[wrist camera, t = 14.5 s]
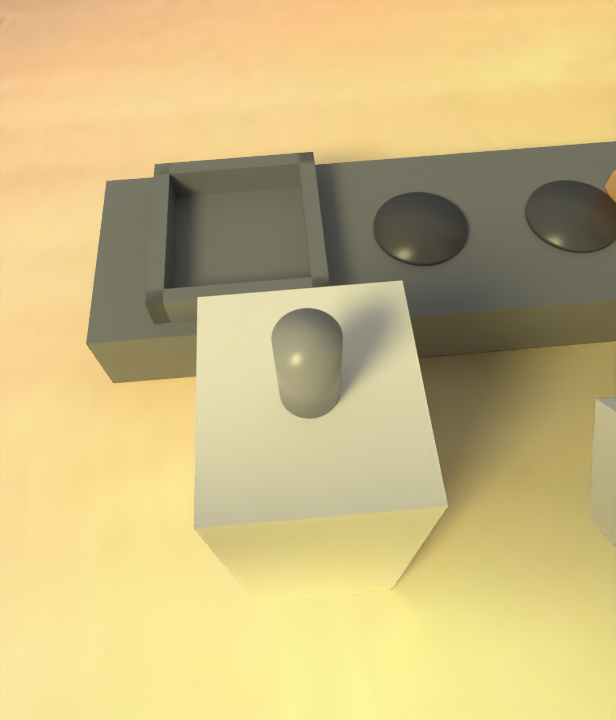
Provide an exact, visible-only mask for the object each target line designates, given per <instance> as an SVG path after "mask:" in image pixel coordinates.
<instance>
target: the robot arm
mask: <svg viewBox="0 0 616 720" xmlns="http://www.w3.org/2000/svg"><path fill="white" fill-rule="evenodd" d="M589 519H590V520H591V521H592V522H593V523H594V524H595V525H596V527H597V528H598V529H599V530H600V531H601V532H602V533H603V534H604V535H605V536H606V537H607V538H608V539H609V540H610V541H611V542H612V543H613V545H614V546H615V547H616V397H613V398H601V399H596V407H595V423H594V439H593V455H592V470H591V486H590V502H589Z"/></svg>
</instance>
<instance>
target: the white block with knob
mask: <svg viewBox="0 0 616 720" xmlns="http://www.w3.org/2000/svg"><path fill="white" fill-rule="evenodd" d="M447 507H448V503H447V498H446V493H445V488H444V483H443V479H442V474H441V469H440V464H439V459H438V454H437V449H436V444H435V439H434V434H433V429H432V424H431V419H430V414H429V409H428V404H427V400H426V395H425V390H424V385H423V380H422V375H421V370H420V365H419V360H418V355H417V350H416V345H415V340H414V335H413V330H412V325H411V321H410V316H409V311H408V306H407V301H406V296H405V291H404V286H403V281H390V282H378V283H366V284H353V285H341V286H329V287H317V288H305V289H292V290H280V291H268V292H256V293H243V294H231V295H219V296H207V297H197V362H196V429H195V496H194V529H195V530H196V532H197V533H198V534H199V535H200V537H201V538H202V539H203V540H204V541H205V543H206V544H207V545H208V546H209V548H210V549H211V550H212V551H213V552H214V554H215V555H216V556H217V557H218V559H219V560H220V561H221V562H222V563H223V565H224V566H225V567H226V568H227V570H228V571H229V572H230V573H231V574H232V576H233V577H234V578H235V579H236V581H237V582H238V583H239V584H240V585H241V587H242V588H243V589H244V590H245V592H246V593H247V594H248V595H249V596H250V598H251V599H252V600H253V601H254V602H263V601H274V600H285V599H296V598H307V597H318V596H329V595H340V594H351V593H362V592H372V591H383V590H392V589H393V587H394V586H395V584H396V583H397V581H398V580H399V578H400V577H401V575H402V574H403V572H404V571H405V569H406V568H407V566H408V565H409V563H410V562H411V560H412V559H413V557H414V556H415V554H416V553H417V551H418V550H419V548H420V547H421V546H422V544H423V543H424V541H425V540H426V538H427V537H428V535H429V534H430V532H431V531H432V529H433V528H434V526H435V525H436V523H437V522H438V520H439V519H440V517H441V516H442V514H443V513H444V511H445V510H446V508H447Z"/></svg>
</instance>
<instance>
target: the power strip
mask: <svg viewBox="0 0 616 720" xmlns="http://www.w3.org/2000/svg"><path fill="white" fill-rule="evenodd" d="M390 281H403V286H404V291H405V296H406V301H407V306H408V311H409V316H410V321H411V325H412V330H413V335H414V340H415V345H416V350H417V355H418V357H430V356H441V355H453V354H465V353H477V352H489V351H501V350H513V349H524V348H536V347H548V346H560V345H572V344H584V343H596V342H608V341H616V141H615V142H602V143H589V144H577V145H564V146H551V147H538V148H525V149H512V150H499V151H487V152H474V153H461V154H448V155H435V156H422V157H410V158H397V159H384V160H371V161H358V162H345V163H333V164H320V165H315V163H314V155H313V152H306V153H293V154H280V155H268V156H255V157H242V158H229V159H216V160H203V161H190V162H177V163H164V164H155V169H154V177H153V178H140V179H127V180H114V181H107V182H106V190H105V198H104V206H103V214H102V222H101V230H100V238H99V246H98V254H97V262H96V270H95V278H94V286H93V294H92V302H91V310H90V318H89V326H88V334H87V342H86V344H87V346H88V347H89V349H90V350H91V351H92V353H93V354H94V356H95V357H96V359H97V360H98V362H99V363H100V364H101V366H102V367H103V369H104V370H105V372H106V373H107V375H108V376H109V378H110V379H111V380H112V382H113V383H121V382H133V381H145V380H157V379H168V378H180V377H192V376H196V362H197V297H207V296H219V295H231V294H243V293H256V292H268V291H280V290H292V289H305V288H317V287H329V286H341V285H353V284H366V283H378V282H390Z"/></svg>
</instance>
